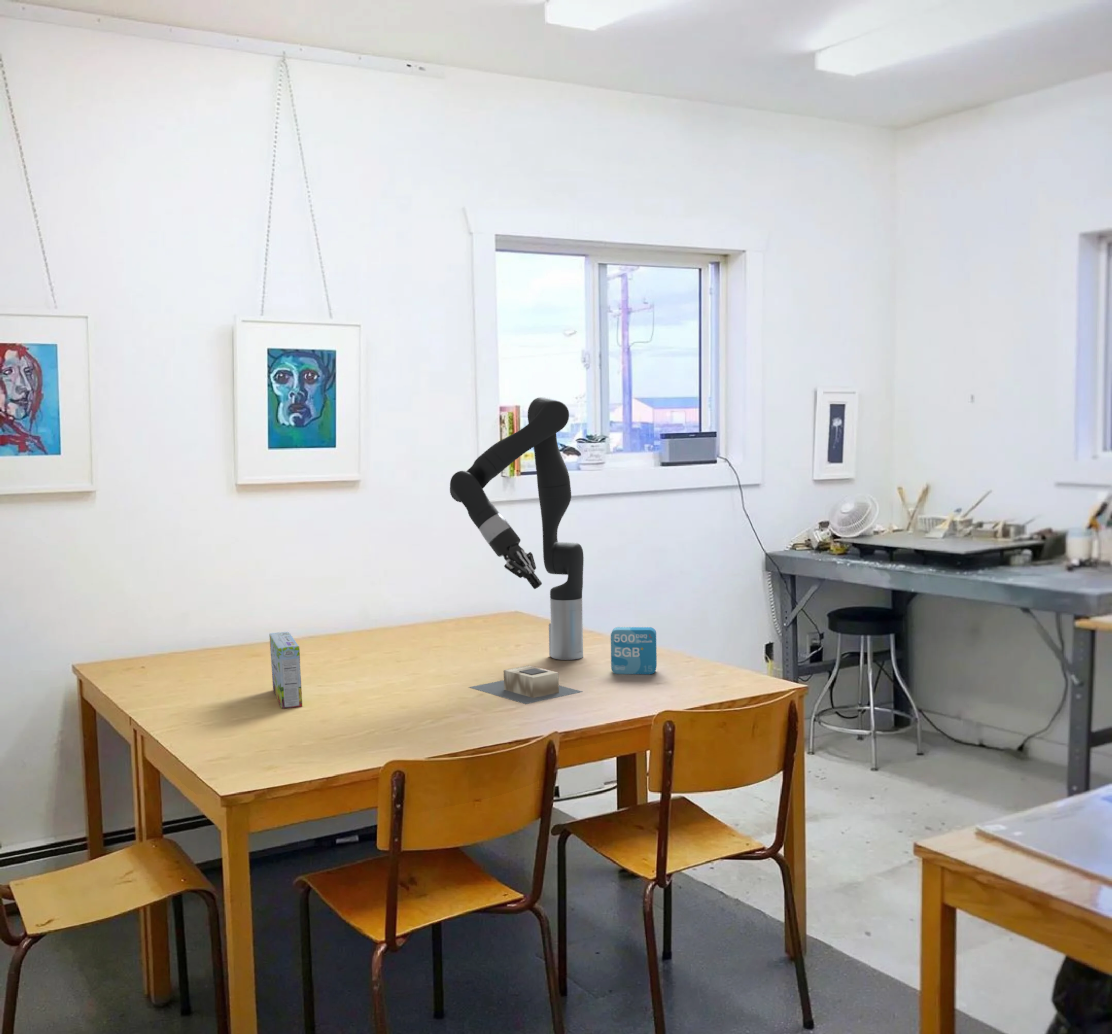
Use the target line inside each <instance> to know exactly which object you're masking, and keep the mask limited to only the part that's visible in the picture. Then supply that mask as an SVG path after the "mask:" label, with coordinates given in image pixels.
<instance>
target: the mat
mask: <svg viewBox="0 0 1112 1034" xmlns="http://www.w3.org/2000/svg"><path fill="white" fill-rule="evenodd" d="M468 688H470V689H473V690H476V691H480V692H482V693H487V694H491V695H494V696H496V697H500V698H502V699H503V698H504V699H507V700H510V701H513V702H514V701H515V702H518V703H521V704H525V705H528V704H535V703H538V702H543V701H547V700H553V699H556V698H560V697H565V696H569V695H574V694H575V695H576V694H580V693H583V692H584V691H583V690H578V689H575V688H570V687H567V686H562V685H559V693H554V694H550V695H545V696H540V697H536V698H532V697H528V696H525V695H521V694H518V693H514V692H511V691H507V690H504V679H502V680H499V681H498V680H497V681H493V682H489V683H483V684H478V685H473V686H469V687H468Z"/></svg>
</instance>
